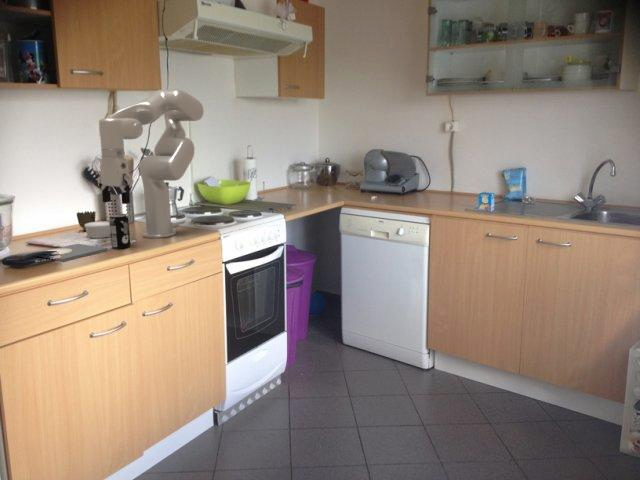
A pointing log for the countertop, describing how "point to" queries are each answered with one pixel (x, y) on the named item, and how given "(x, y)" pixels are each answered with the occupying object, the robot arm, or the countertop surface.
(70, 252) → the board
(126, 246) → the beverage can
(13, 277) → the countertop surface
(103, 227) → the ramekin
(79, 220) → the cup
